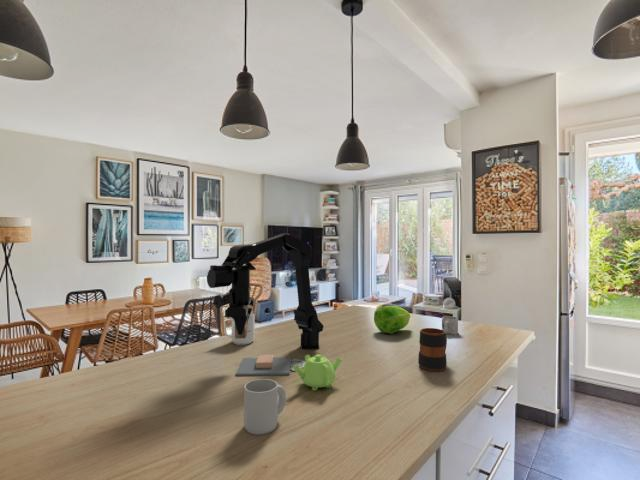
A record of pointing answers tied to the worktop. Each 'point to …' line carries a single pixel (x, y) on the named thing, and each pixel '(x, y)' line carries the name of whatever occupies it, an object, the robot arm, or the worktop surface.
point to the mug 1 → (250, 331)
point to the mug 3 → (450, 325)
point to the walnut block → (242, 333)
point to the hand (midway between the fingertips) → (241, 333)
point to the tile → (265, 361)
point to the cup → (262, 405)
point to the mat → (249, 368)
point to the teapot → (317, 371)
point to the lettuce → (391, 318)
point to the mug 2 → (432, 349)
